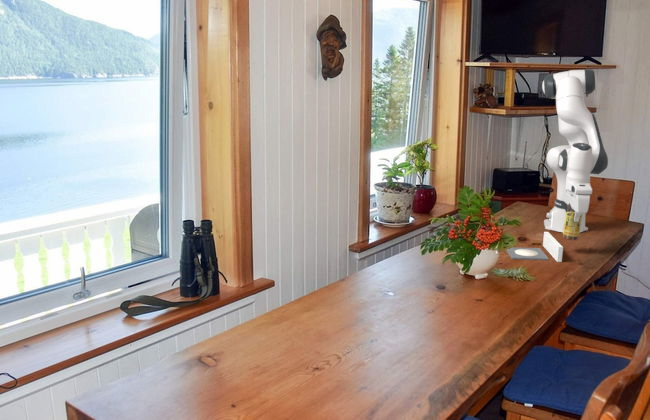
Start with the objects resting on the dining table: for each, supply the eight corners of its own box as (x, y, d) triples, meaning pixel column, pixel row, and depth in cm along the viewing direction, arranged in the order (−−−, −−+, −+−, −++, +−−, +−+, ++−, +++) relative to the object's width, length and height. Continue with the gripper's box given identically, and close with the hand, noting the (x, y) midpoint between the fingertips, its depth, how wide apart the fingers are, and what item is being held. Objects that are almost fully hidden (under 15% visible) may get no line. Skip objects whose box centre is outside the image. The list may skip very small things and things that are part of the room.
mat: (505, 248, 255) (505, 246, 255) (539, 249, 254) (539, 247, 253) (512, 259, 241) (512, 257, 241) (548, 260, 240) (548, 258, 240)
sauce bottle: (561, 239, 248) (567, 191, 242) (562, 235, 253) (567, 188, 248) (579, 241, 245) (585, 193, 240) (579, 237, 251) (585, 189, 246)
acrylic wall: (542, 245, 259) (544, 231, 258) (546, 245, 259) (548, 231, 258) (557, 262, 238) (558, 247, 236) (561, 262, 238) (563, 247, 236)
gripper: (561, 178, 253) (557, 211, 257) (576, 190, 234) (572, 225, 237) (577, 179, 253) (573, 211, 257) (594, 191, 233) (589, 226, 237)
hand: (573, 218), depth 247 cm, fingers closed on sauce bottle, 6 cm apart
